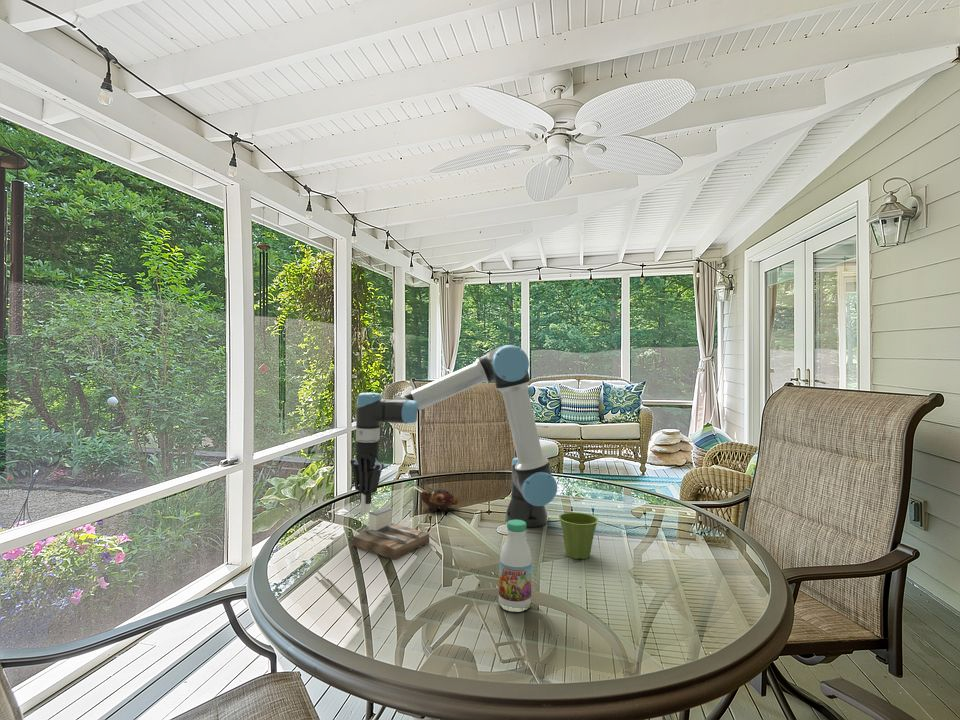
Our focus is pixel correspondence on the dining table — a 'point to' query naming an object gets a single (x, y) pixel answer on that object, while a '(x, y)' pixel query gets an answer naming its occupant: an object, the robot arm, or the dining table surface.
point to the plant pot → (578, 533)
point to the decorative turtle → (438, 499)
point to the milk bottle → (515, 567)
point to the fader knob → (380, 519)
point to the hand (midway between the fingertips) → (365, 513)
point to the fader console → (391, 541)
